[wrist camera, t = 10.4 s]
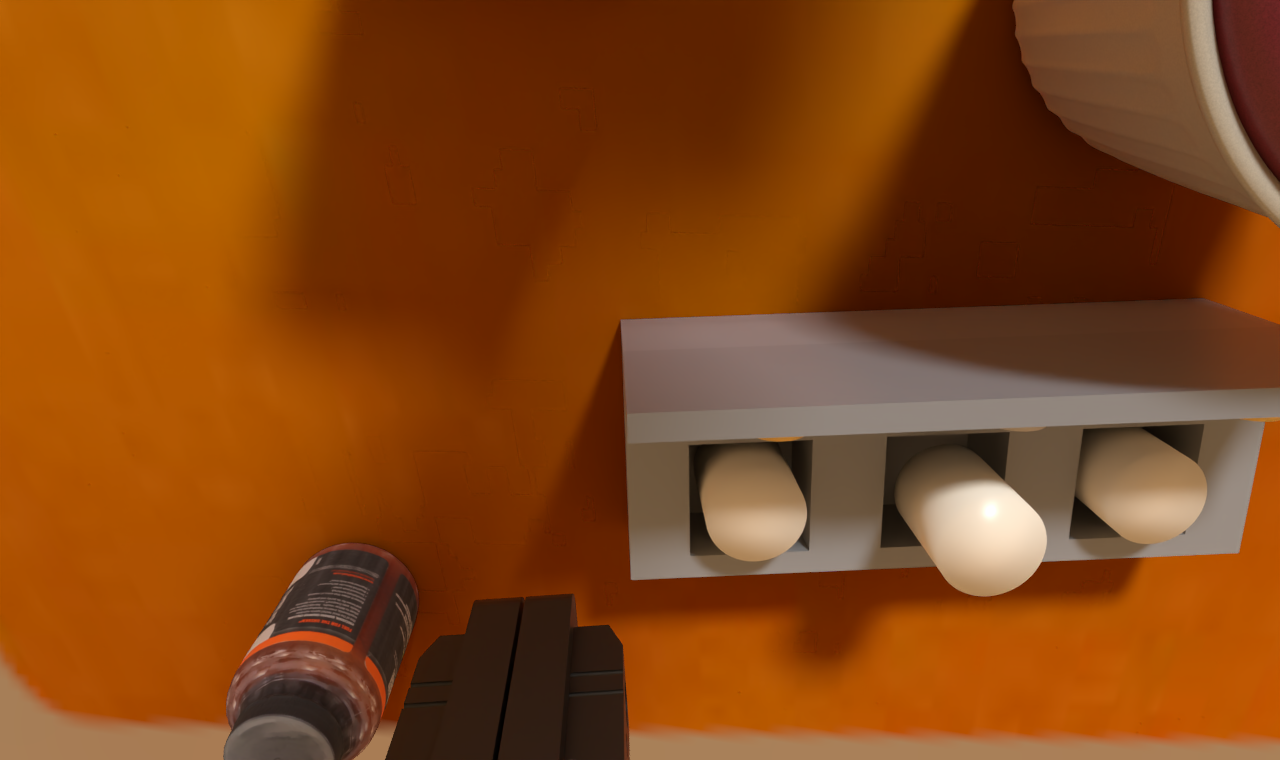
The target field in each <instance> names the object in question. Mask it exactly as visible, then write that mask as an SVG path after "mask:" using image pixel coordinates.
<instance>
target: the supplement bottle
mask: <svg viewBox="0 0 1280 760" xmlns="http://www.w3.org/2000/svg"><path fill="white" fill-rule="evenodd" d="M418 606H419V598H418V590H417V585H416V583H415V580H414V578H413V577H412V574H411V573H410V572H409V570H408V569H407V568H406V566H405V565H404V564H403V563H402V562H401V561H400V560H398V559H397V558H396V557H395V556H393V555H392V554H390V553H389V552H387V551H386V550H383V549H380V548H378V547H376V546H372V545H368V544H361V543H343V544H337V545H333V546H330V547H328V548H325V549H323V550H322V551H320V552H318V553H316V554H315V555H314V556H312V557H311V558H310V559H309V560H308V561H307V562H306V563H305V564H304V566H303V567H302V568H301V569H300V571H299V572H298V573H297V575H296V576H295V578H294V579H293V581H292V583H291V584H290V586H289V588H288V589H287V591H286V592H285V594H284V595H283V597H282V599H281V601H280V602H279V604H278V605H277V607H276V609H275V610H274V612H273V613H272V615H271V617H270V618H269V620H268V622H267V623H266V625H265V626H264V628H263V630H262V631H261V632H260V634H259V635H258V637H257V639H256V641H255V642H254V644H253V646H252V647H251V649H250V650H249V652H248V653H247V655H246V657H245V658H244V660H243V662H242V663H241V665H240V667H239V668H238V670H237V671H236V673H235V675H234V677H233V680H232V682H231V685H230V688H229V691H228V694H227V702H226V715H227V718H228V721H229V725H230V727H231V730H232V731H231V733H230V735H229V737H228V739H227V741H226V744H225V747H224V756H223V757H224V760H352V759H354V758H355V757H356V756H358V755H359V754H360V753H361V752H362V751H363V750H364V749H365V748H366V746H367V745H368V744H369V743H370V741H371V739H372V737H373V736H374V734H375V732H376V730H377V728H378V725H379V723H380V720H381V717H382V715H383V711H384V710H385V707H386V704H387V701H388V698H389V695H390V692H391V690H392V687H393V684H394V681H395V678H396V675H397V672H398V670H399V667H400V664H401V661H402V658H403V655H404V653H405V650H406V647H407V644H408V641H409V638H410V635H411V632H412V630H413V627H414V623H415V620H416V616H417V612H418Z"/></svg>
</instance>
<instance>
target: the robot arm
mask: <svg viewBox="0 0 1280 760" xmlns="http://www.w3.org/2000/svg"><path fill="white" fill-rule="evenodd" d="M385 760H630V758H629V722H628V709H627V695H626V682H625V668H624V655H623V645H622V643H621V642H620V640H619V639H618V638H617V636H616V635H615V633H614V632H613V630H612V629H611V628H610V626H609V625H600V626H584V627H578V624H577V613H576V604H575V597H574V594H561V595H545V596H530V597H526V599H525V600H524V598H523V597H517V598H501V599H486V600H475V601H474V603H473V607H472V610H471V614H470V618H469V622H468V625H467V629H466V633H465V634H463V635H447V636H440V637H439V638H438V639H437V640H436V641H435V642H434V643H433V644H432V645H431V646H430V647H429V648H428V649H427V650H426V652H425V653H424V654H423V655H422V656H421V657H420V658H419V660H418V663H417V666H416V669H415V672H414V675H413V678H412V681H411V688H409V690H408V693H407V696H406V699H405V702H404V709H402V711H401V714H400V717H399V720H398V723H397V726H396V729H395V732H394V735H393V738H392V741H391V744H390V747H389V750H388V753H387V756H386V759H385Z"/></svg>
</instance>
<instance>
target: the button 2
mask: <svg viewBox="0 0 1280 760" xmlns="http://www.w3.org/2000/svg"><path fill="white" fill-rule="evenodd" d="M1074 496H1075V497H1077V498H1078V499H1079V500H1080V501H1081V502H1082V503H1084V504H1085V505H1086V506H1087V507H1088V508H1089V509H1090V510H1092V511H1093V512H1094V513H1095V514H1096V515H1097V516H1099V517H1100V518H1101V519H1102V520H1103V521H1104V522H1106V523H1107V524H1108V525H1109V526H1110V527H1111V528H1112V529H1114V530H1115V531H1116V532H1117V533H1118V534H1119V535H1121V536H1122V537H1124V538H1125V539H1127V540H1129V541H1132V542H1135V543H1140V544H1155V543H1160V542H1164V541H1167V540H1170V539H1172V538H1174V537H1176V536H1178V535H1179V534H1181V533H1182V532H1184V531H1185V530H1186V529H1188V528H1189V527H1190V526H1191V525H1192V524H1193V523H1194V521H1195V520H1196V519H1197V518H1198V516H1199V515H1200V513H1201V511H1202V509H1203V507H1204V504H1205V501H1206V497H1207V482H1206V478H1205V475H1204V473H1203V471H1202V469H1201V468H1200V467H1199V466H1198V464H1196V463H1195V462H1194V461H1193V460H1191V459H1190V458H1188V457H1187V456H1185V455H1184V454H1182V453H1180V452H1179V451H1177V450H1176V449H1174V448H1172V447H1171V446H1169V445H1168V444H1166V443H1165V442H1163V441H1161V440H1160V439H1158V438H1157V437H1155V436H1153V435H1152V434H1150V433H1149V432H1147V431H1145V430H1144V429H1142V428H1141V427H1119V428H1094V429H1083V434H1082V442H1081V449H1080V457H1079V464H1078V472H1077V479H1076V487H1075V495H1074Z"/></svg>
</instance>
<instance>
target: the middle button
mask: <svg viewBox="0 0 1280 760" xmlns="http://www.w3.org/2000/svg"><path fill="white" fill-rule="evenodd" d="M894 498H895V504H896V507H897V509H898V511H899V513H900V515H901V516H902V517H903V519H904V520H905V522H906V523H907V525H908V526H909V528H910V529H911V530H912V532H913V533H914V535H915V536H916V538H917V539H918V540H919V542H920V543H921V545H922V546H923V548H924V549H925V551H926V552H927V553H928V555H929V556H930V558H931V559H932V561H933V562H934V563H935V565H936V566H937V568H938V569H939V571H940V572H941V574H942V575H943V576H944V578H945V579H946V580H947V581H948V583H949V584H951V585H952V586H953V587H954V588H956V589H958V590H959V591H961V592H964V593H966V594H970V595H974V596H994V595H999V594H1003V593H1005V592H1008V591H1010V590H1013V589H1015V588H1016V587H1018V586H1020V585H1021V584H1023V583H1024V582H1025V581H1026V580H1028V579H1029V578H1030V577H1031V576H1032V575H1033V573H1034V572H1035V571H1036V570H1037V568H1038V567H1039V565H1040V563H1041V561H1042V559H1043V557H1044V554H1045V551H1046V546H1047V535H1046V529H1045V526H1044V524H1043V521H1042V519H1041V518H1040V516H1039V515H1038V514H1037V513H1036V511H1035V510H1034V509H1033V508H1032V507H1031V506H1030V505H1029V504H1028V503H1027V502H1025V501H1024V500H1023V499H1022V498H1021V497H1020V496H1019V495H1018V494H1017V493H1016V492H1015V491H1014V490H1013V489H1012V488H1011V487H1010V486H1009V485H1008V484H1007V483H1006V482H1005V481H1004V480H1003V479H1002V478H1001V477H1000V476H999V475H998V474H997V473H996V472H995V471H994V470H993V469H992V468H991V467H990V466H989V465H988V464H987V463H986V462H985V461H984V460H983V459H982V458H981V457H979V456H978V455H977V454H976V453H975V452H973V451H972V450H970V449H968V448H966V447H963V446H960V445H954V444H942V445H936V446H932V447H929V448H927V449H925V450H923V451H921V452H919V453H917V454H916V455H915V456H913V457H912V458H911V459H910V460H909V461H908V462H907V463H906V464H905V465H904V467H903V468H902V470H901V471H900V473H899V475H898V477H897V480H896V483H895V489H894Z"/></svg>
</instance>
